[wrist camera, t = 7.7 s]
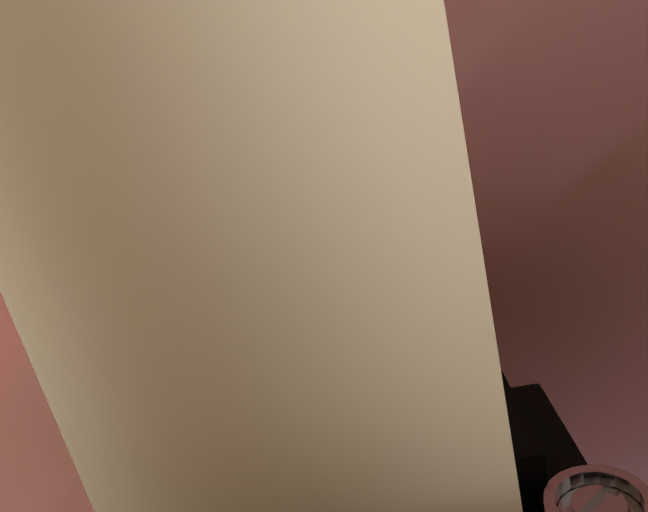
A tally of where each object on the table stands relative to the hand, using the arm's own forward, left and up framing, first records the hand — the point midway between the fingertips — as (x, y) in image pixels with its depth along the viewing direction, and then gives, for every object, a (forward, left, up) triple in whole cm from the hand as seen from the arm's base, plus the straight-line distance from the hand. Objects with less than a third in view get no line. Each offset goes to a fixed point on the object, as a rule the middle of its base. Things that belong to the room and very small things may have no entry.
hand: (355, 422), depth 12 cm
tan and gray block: (0, 0, 0) cm, 0 cm away
